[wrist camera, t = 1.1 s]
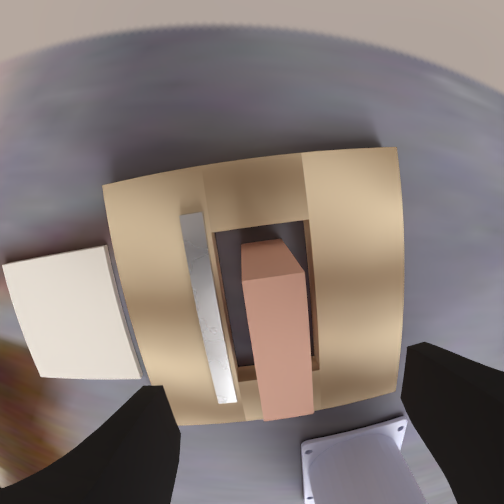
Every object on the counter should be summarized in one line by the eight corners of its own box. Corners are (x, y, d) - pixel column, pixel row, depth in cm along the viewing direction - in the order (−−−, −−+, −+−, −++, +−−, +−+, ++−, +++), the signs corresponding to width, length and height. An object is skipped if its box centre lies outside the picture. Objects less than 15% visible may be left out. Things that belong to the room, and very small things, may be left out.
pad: (143, 374, 17) (141, 378, 17) (44, 373, 17) (41, 376, 17) (107, 244, 15) (103, 246, 15) (6, 263, 15) (2, 265, 15)
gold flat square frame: (386, 378, 18) (398, 395, 16) (171, 410, 18) (165, 431, 16) (383, 149, 15) (401, 146, 13) (114, 184, 15) (97, 185, 13)
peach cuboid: (292, 343, 17) (313, 413, 11) (256, 349, 17) (263, 421, 11) (280, 238, 16) (304, 271, 10) (241, 244, 16) (241, 281, 10)
